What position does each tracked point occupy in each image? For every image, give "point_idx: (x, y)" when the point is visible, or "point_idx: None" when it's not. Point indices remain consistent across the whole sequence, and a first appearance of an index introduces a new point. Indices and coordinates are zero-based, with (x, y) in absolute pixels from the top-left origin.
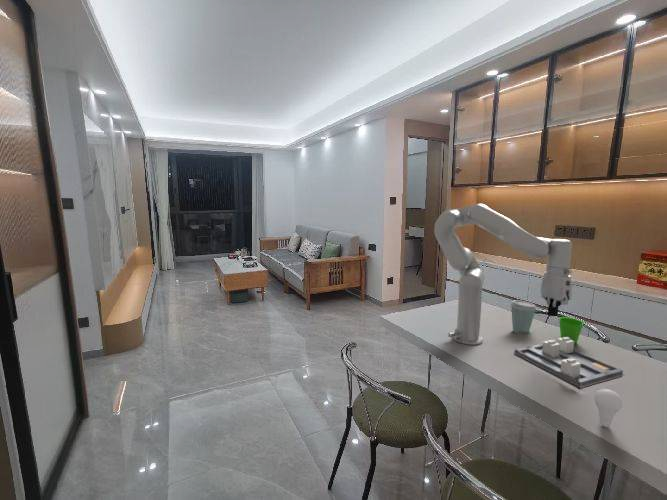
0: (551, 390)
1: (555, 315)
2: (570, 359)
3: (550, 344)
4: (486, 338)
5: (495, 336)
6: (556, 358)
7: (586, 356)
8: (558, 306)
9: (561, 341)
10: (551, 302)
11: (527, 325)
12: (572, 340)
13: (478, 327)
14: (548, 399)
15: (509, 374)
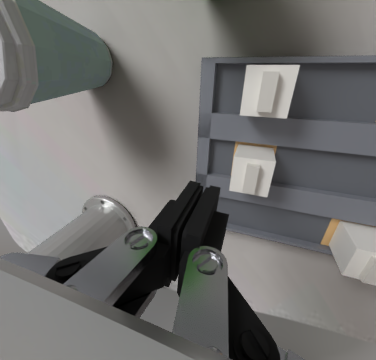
0: (336, 292)
1: (217, 200)
2: (372, 274)
3: (256, 193)
4: (113, 186)
5: (108, 158)
6: (276, 168)
7: (354, 62)
8: (217, 262)
9: (259, 115)
10: (142, 285)
11: (90, 63)
12: (291, 65)
13: (103, 245)
14: (346, 320)
15: (248, 286)
